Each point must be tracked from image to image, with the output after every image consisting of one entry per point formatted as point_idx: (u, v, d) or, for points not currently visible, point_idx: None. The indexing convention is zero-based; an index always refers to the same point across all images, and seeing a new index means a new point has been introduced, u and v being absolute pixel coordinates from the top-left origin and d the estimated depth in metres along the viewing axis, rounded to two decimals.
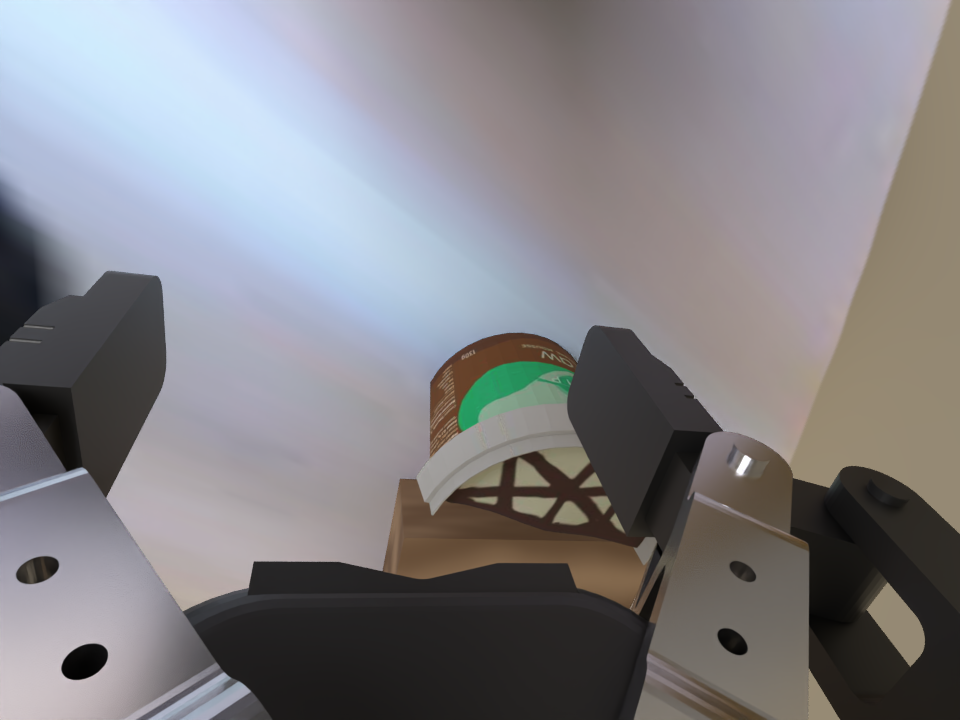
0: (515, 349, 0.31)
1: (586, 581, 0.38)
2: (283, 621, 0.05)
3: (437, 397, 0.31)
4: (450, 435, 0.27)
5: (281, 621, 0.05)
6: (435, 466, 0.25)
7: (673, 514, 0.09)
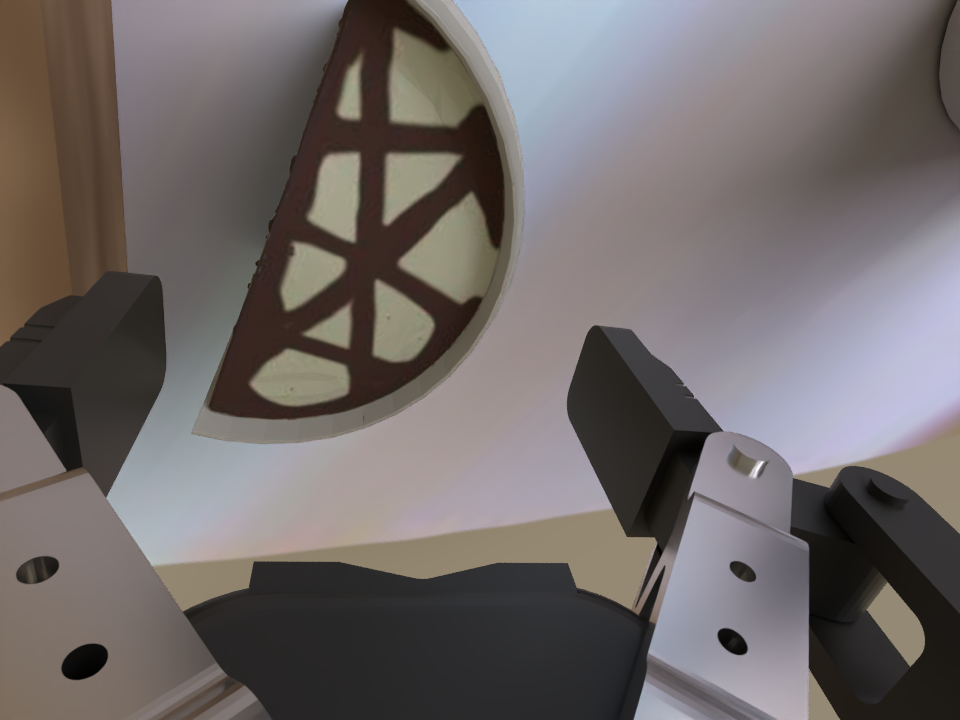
0: None
1: None
2: (283, 621, 0.05)
3: None
4: None
5: (281, 621, 0.05)
6: None
7: (673, 514, 0.09)
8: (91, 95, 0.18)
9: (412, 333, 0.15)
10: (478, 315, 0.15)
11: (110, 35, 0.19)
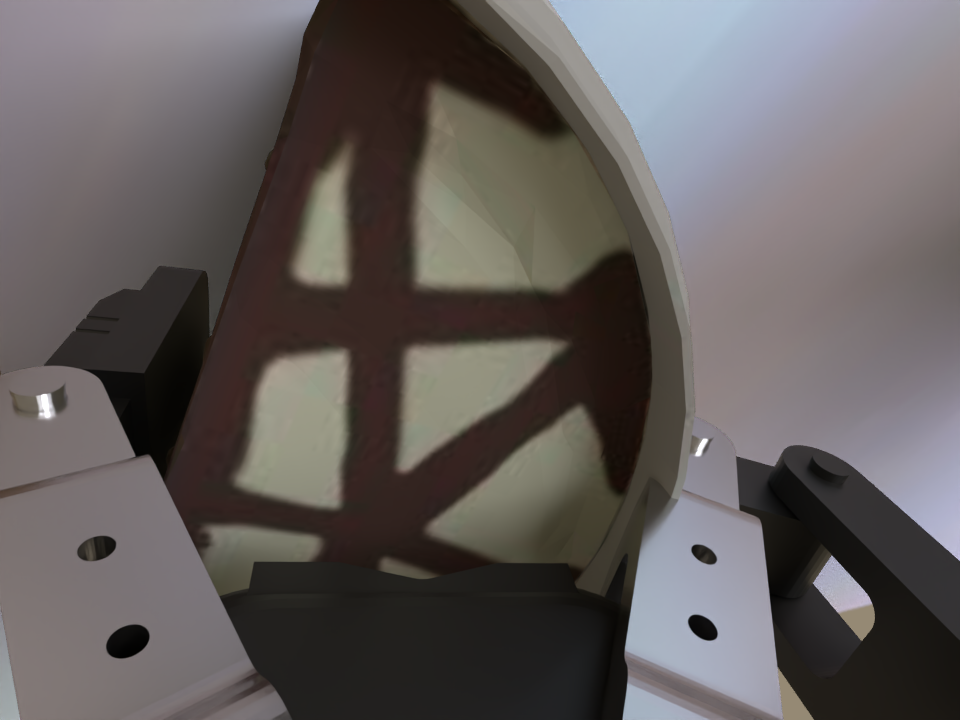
0: None
1: None
2: (283, 621, 0.05)
3: None
4: None
5: (281, 621, 0.05)
6: None
7: None
8: None
9: None
10: None
11: None
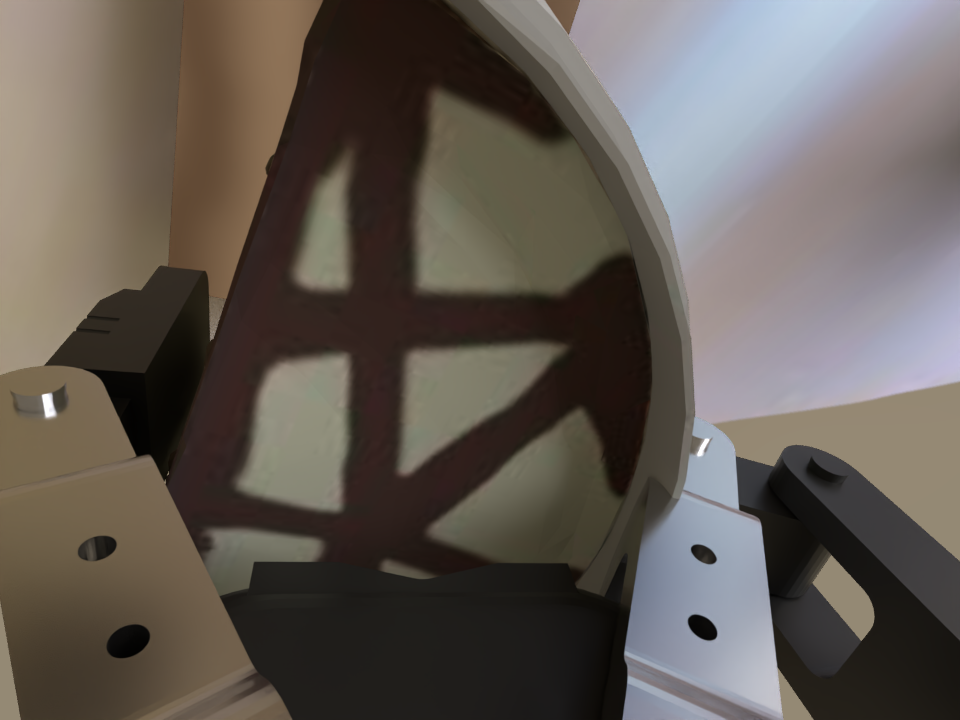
0: None
1: None
2: (283, 621, 0.05)
3: None
4: None
5: (281, 621, 0.05)
6: None
7: None
8: None
9: None
10: None
11: None
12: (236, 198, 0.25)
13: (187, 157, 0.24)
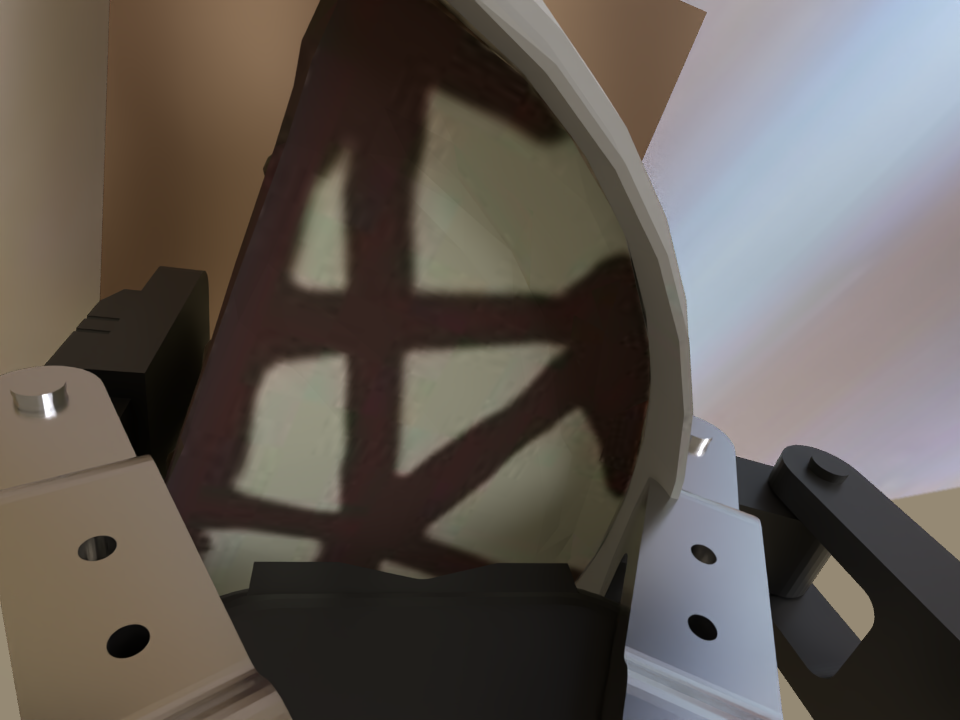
0: None
1: None
2: (283, 621, 0.05)
3: None
4: None
5: (281, 621, 0.05)
6: None
7: None
8: None
9: None
10: None
11: None
12: None
13: (121, 237, 0.16)
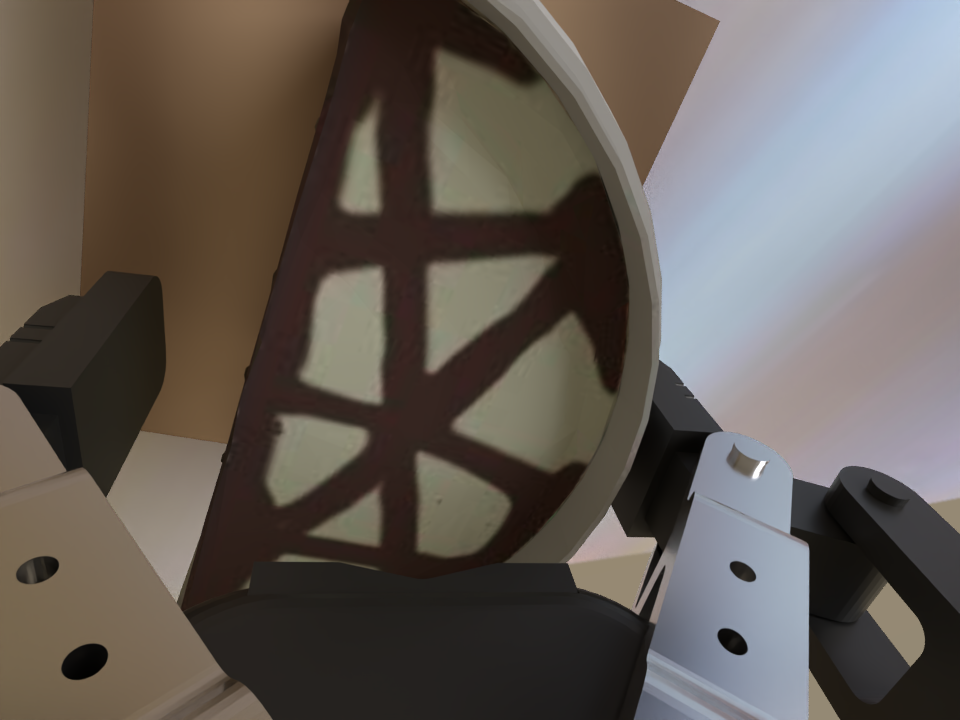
0: None
1: None
2: (283, 621, 0.05)
3: None
4: None
5: (281, 621, 0.05)
6: None
7: (674, 514, 0.09)
8: None
9: (476, 518, 0.10)
10: (581, 491, 0.10)
11: None
12: (179, 300, 0.17)
13: (103, 241, 0.16)
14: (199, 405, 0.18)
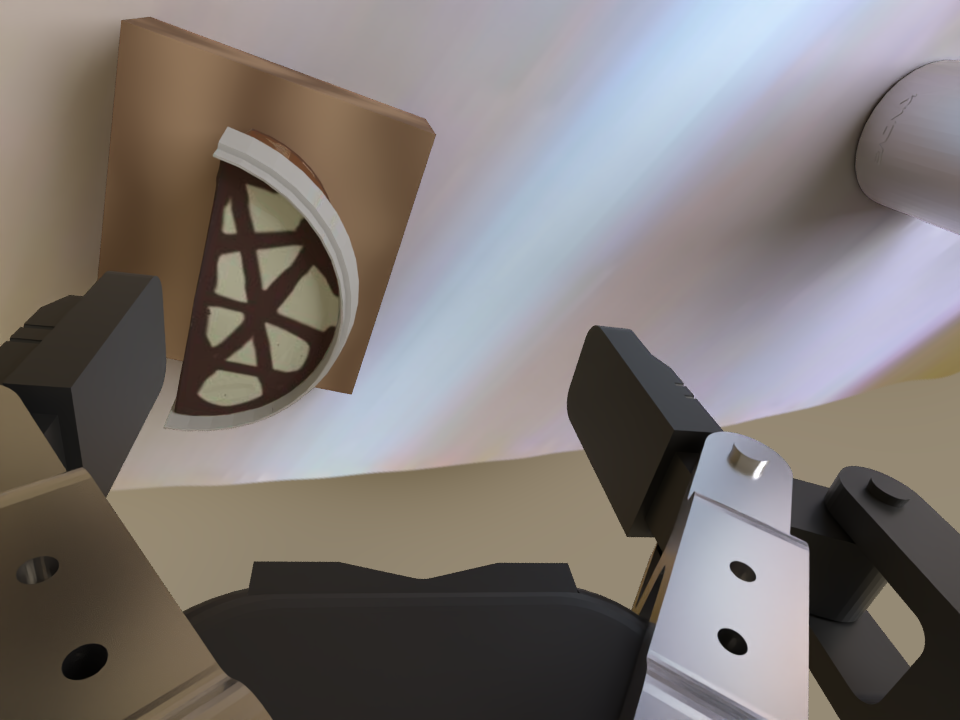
0: None
1: None
2: (283, 621, 0.05)
3: (261, 140, 0.26)
4: None
5: (281, 621, 0.05)
6: (262, 150, 0.21)
7: (673, 514, 0.09)
8: None
9: (295, 352, 0.24)
10: (334, 337, 0.24)
11: None
12: (152, 275, 0.31)
13: (111, 243, 0.30)
14: None
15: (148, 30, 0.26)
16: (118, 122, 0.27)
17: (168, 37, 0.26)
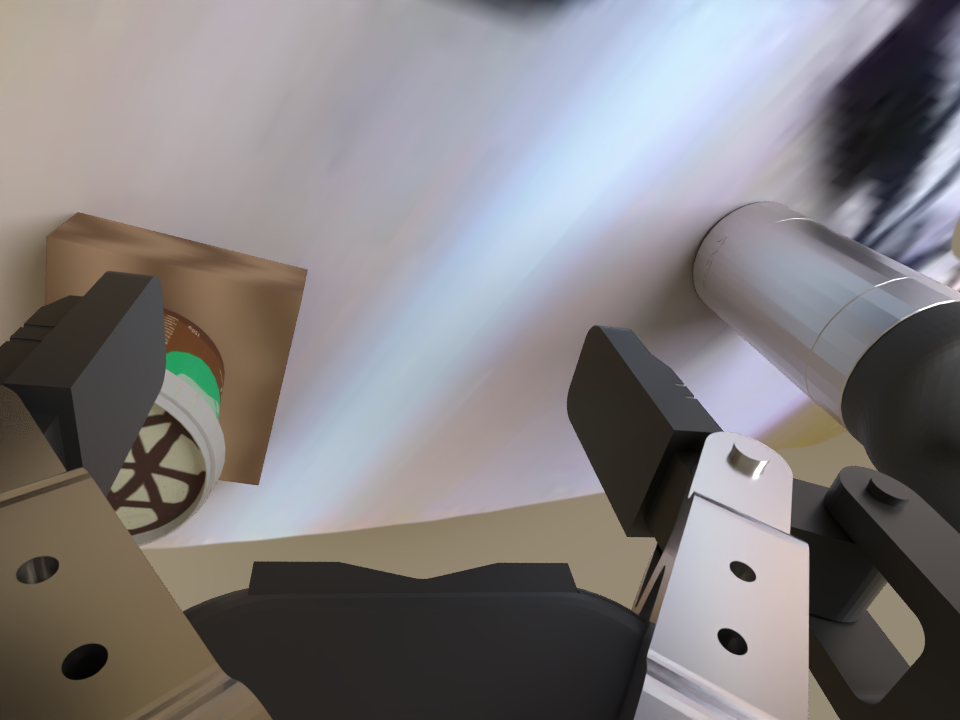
0: (217, 367, 0.37)
1: None
2: (283, 621, 0.05)
3: None
4: None
5: (281, 621, 0.05)
6: None
7: (674, 514, 0.09)
8: None
9: (178, 490, 0.33)
10: (205, 479, 0.32)
11: None
12: None
13: None
14: None
15: (67, 241, 0.34)
16: None
17: (83, 244, 0.34)
